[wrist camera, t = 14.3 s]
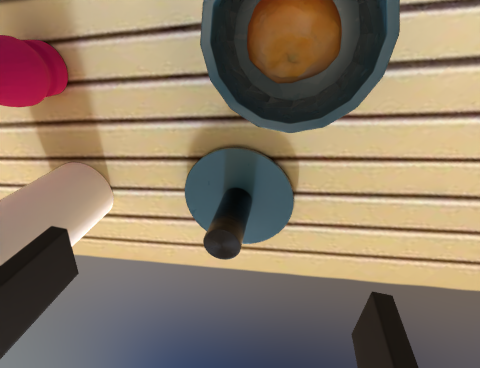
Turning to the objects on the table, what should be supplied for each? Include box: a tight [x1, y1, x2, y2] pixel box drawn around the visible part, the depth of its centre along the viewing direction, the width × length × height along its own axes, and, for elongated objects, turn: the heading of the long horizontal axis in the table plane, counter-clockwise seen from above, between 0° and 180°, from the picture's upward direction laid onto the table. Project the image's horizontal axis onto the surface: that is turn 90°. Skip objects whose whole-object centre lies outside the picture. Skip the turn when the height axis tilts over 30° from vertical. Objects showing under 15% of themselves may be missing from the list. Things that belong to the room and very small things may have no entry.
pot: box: [200, 0, 400, 133], centre depth 24 cm, size 14×14×10 cm
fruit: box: [247, 0, 342, 83], centre depth 25 cm, size 8×8×8 cm
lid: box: [185, 147, 294, 259], centre depth 34 cm, size 15×15×10 cm
